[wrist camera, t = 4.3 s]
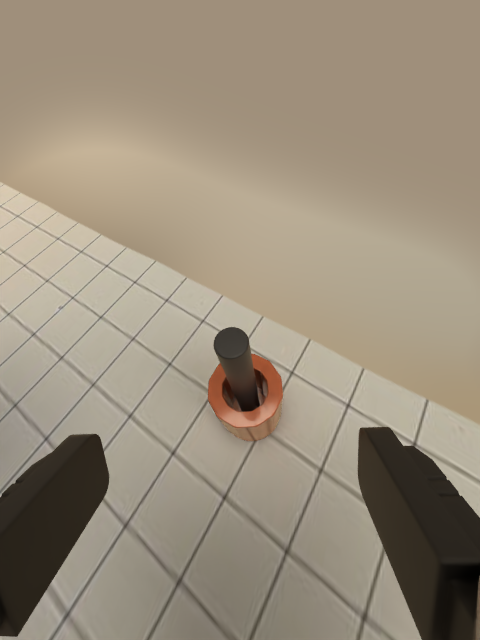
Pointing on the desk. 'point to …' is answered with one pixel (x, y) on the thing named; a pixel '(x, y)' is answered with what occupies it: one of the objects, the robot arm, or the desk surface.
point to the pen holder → (248, 422)
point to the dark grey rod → (238, 366)
